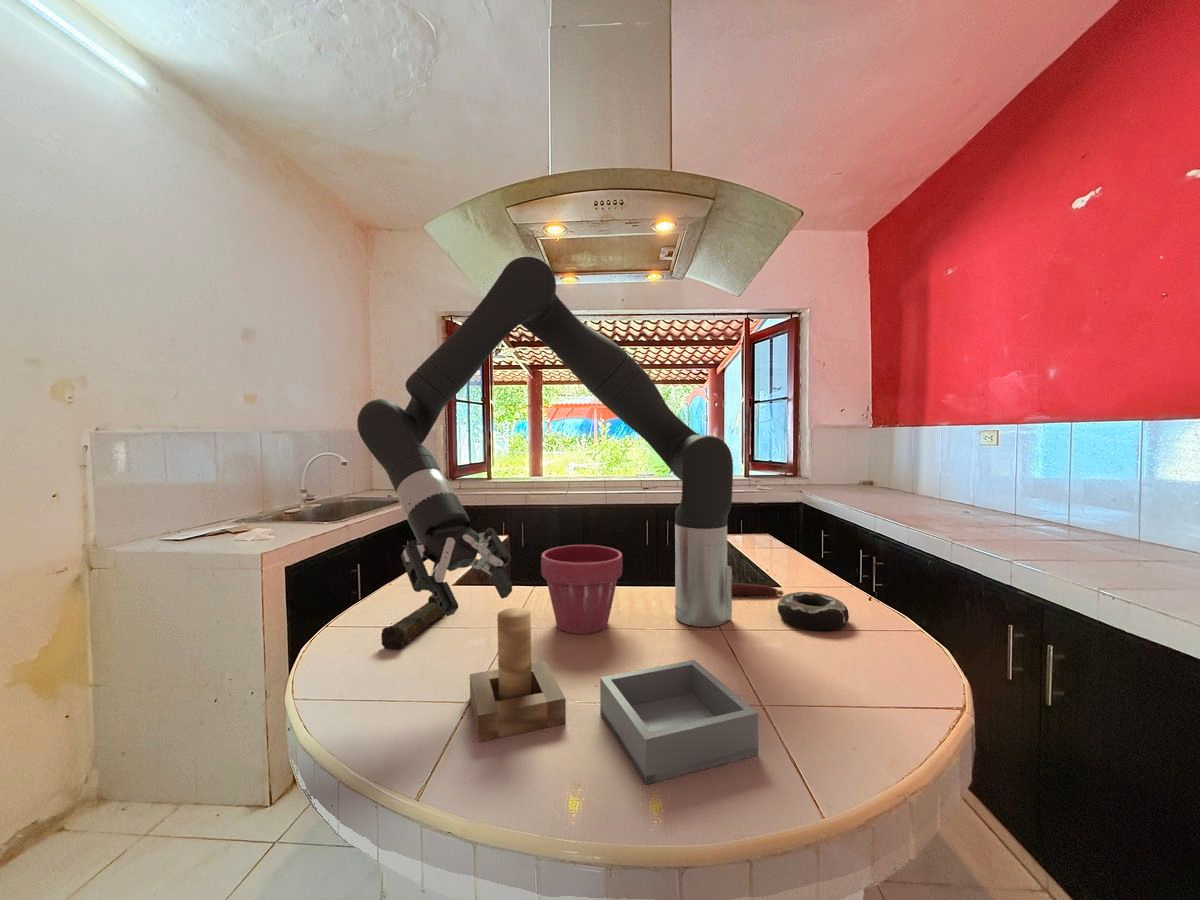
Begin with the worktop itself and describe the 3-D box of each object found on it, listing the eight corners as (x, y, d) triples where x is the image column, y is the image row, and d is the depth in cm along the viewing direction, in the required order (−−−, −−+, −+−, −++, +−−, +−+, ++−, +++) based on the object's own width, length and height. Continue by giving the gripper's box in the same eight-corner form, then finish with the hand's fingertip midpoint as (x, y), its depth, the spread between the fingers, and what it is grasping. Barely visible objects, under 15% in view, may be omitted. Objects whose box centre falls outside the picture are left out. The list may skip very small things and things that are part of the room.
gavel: (777, 574, 108) (791, 589, 98) (775, 595, 108) (789, 612, 98) (679, 567, 109) (683, 581, 99) (677, 587, 109) (681, 603, 99)
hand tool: (402, 653, 78) (402, 624, 78) (380, 650, 79) (379, 621, 79) (462, 611, 97) (462, 587, 97) (444, 609, 98) (444, 585, 97)
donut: (800, 637, 83) (800, 613, 83) (766, 611, 95) (766, 590, 94) (863, 632, 85) (864, 609, 85) (822, 608, 96) (822, 587, 96)
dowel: (528, 698, 64) (527, 606, 64) (535, 715, 61) (533, 617, 60) (496, 704, 63) (495, 610, 62) (501, 721, 59) (500, 621, 59)
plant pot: (620, 609, 96) (619, 543, 95) (626, 640, 82) (625, 562, 81) (545, 610, 96) (544, 544, 95) (538, 641, 82) (537, 563, 81)
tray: (694, 693, 65) (694, 659, 65) (757, 754, 53) (758, 712, 53) (600, 713, 61) (600, 677, 61) (645, 784, 48) (645, 739, 48)
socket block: (545, 683, 68) (545, 661, 68) (565, 723, 59) (565, 698, 59) (470, 696, 65) (469, 674, 65) (478, 742, 55) (478, 715, 55)
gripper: (393, 496, 65) (444, 602, 58) (483, 486, 76) (536, 574, 69) (375, 531, 69) (421, 635, 62) (464, 517, 80) (511, 604, 73)
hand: (481, 603), depth 66 cm, fingers open, 8 cm apart
